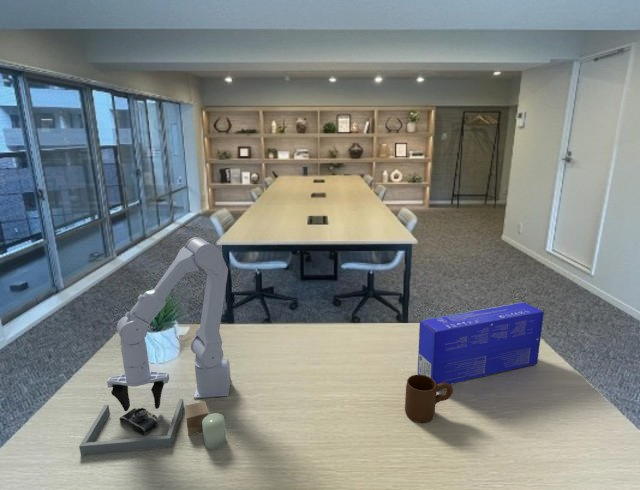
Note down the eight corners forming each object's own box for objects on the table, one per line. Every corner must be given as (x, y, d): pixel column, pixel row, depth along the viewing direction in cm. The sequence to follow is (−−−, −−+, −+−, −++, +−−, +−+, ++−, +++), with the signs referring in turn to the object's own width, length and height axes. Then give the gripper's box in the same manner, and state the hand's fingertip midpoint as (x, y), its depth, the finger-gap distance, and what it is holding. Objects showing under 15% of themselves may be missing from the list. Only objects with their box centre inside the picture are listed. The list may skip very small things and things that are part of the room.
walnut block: (206, 417, 104) (205, 400, 103) (209, 430, 99) (207, 412, 98) (186, 422, 102) (184, 405, 101) (188, 435, 98) (186, 418, 96)
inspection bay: (184, 406, 108) (183, 398, 107) (171, 447, 94) (170, 438, 93) (105, 413, 106) (104, 405, 105) (80, 455, 92) (79, 446, 91)
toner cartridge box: (517, 352, 134) (524, 301, 129) (537, 365, 126) (546, 311, 121) (415, 373, 122) (419, 318, 117) (430, 389, 115) (435, 331, 110)
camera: (136, 411, 107) (135, 397, 106) (162, 425, 101) (160, 411, 100) (119, 422, 102) (117, 408, 101) (144, 438, 97) (142, 423, 96)
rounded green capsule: (226, 433, 98) (225, 412, 97) (224, 448, 93) (222, 426, 92) (206, 435, 98) (203, 414, 96) (202, 450, 93) (200, 428, 91)
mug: (446, 404, 108) (448, 373, 106) (455, 423, 101) (458, 391, 98) (401, 404, 108) (403, 374, 106) (408, 424, 101) (410, 392, 98)
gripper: (169, 351, 106) (174, 395, 109) (111, 355, 104) (119, 400, 108) (162, 366, 99) (168, 412, 103) (100, 370, 97) (109, 417, 101)
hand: (142, 407), depth 105 cm, fingers open, 7 cm apart
